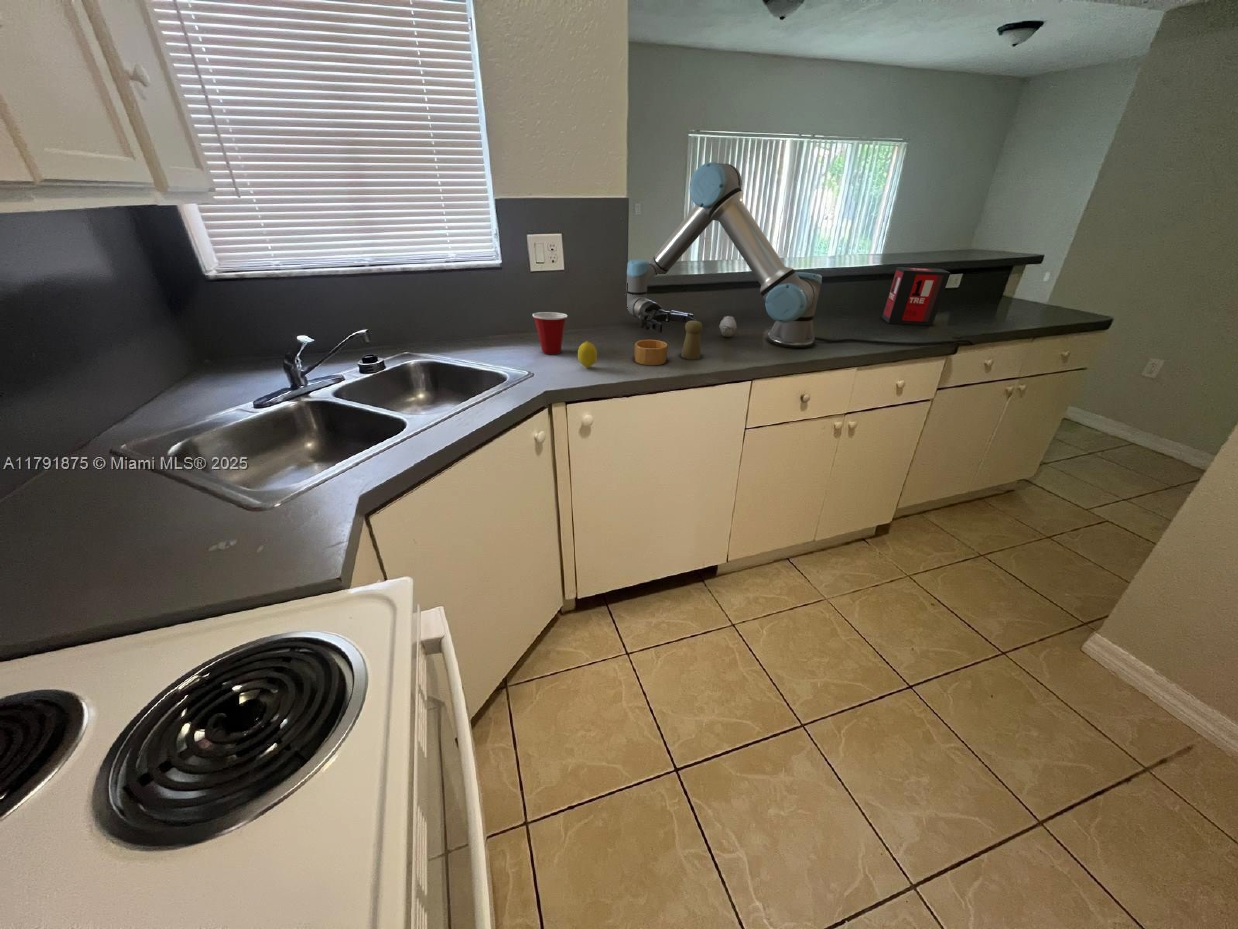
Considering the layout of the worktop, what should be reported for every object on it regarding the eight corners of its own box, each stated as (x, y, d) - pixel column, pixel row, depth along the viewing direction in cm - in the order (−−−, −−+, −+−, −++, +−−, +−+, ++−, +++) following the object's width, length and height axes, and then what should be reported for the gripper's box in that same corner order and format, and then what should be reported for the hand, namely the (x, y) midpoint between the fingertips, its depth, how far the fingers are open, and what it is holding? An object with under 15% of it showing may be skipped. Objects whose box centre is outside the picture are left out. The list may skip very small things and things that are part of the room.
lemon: (582, 372, 140) (582, 345, 136) (575, 366, 144) (574, 339, 140) (600, 369, 142) (600, 342, 138) (592, 363, 146) (591, 337, 142)
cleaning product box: (924, 320, 201) (941, 268, 191) (932, 325, 194) (950, 272, 183) (881, 317, 203) (896, 266, 193) (888, 323, 196) (904, 270, 186)
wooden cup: (667, 356, 154) (669, 340, 151) (664, 366, 146) (665, 350, 143) (637, 353, 155) (638, 338, 153) (632, 363, 147) (632, 347, 145)
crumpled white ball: (732, 333, 178) (735, 314, 174) (737, 339, 172) (740, 319, 168) (716, 333, 178) (718, 314, 174) (720, 339, 172) (723, 319, 168)
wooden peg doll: (699, 353, 157) (703, 319, 151) (700, 359, 152) (704, 324, 146) (681, 352, 157) (684, 318, 152) (681, 358, 152) (684, 323, 147)
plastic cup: (574, 348, 159) (573, 311, 153) (560, 358, 150) (558, 319, 144) (544, 344, 162) (542, 308, 155) (528, 354, 153) (525, 315, 147)
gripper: (677, 319, 180) (710, 334, 164) (616, 325, 170) (644, 342, 154) (679, 298, 176) (712, 311, 160) (617, 303, 167) (646, 318, 150)
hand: (679, 326), depth 157 cm, fingers open, 13 cm apart
